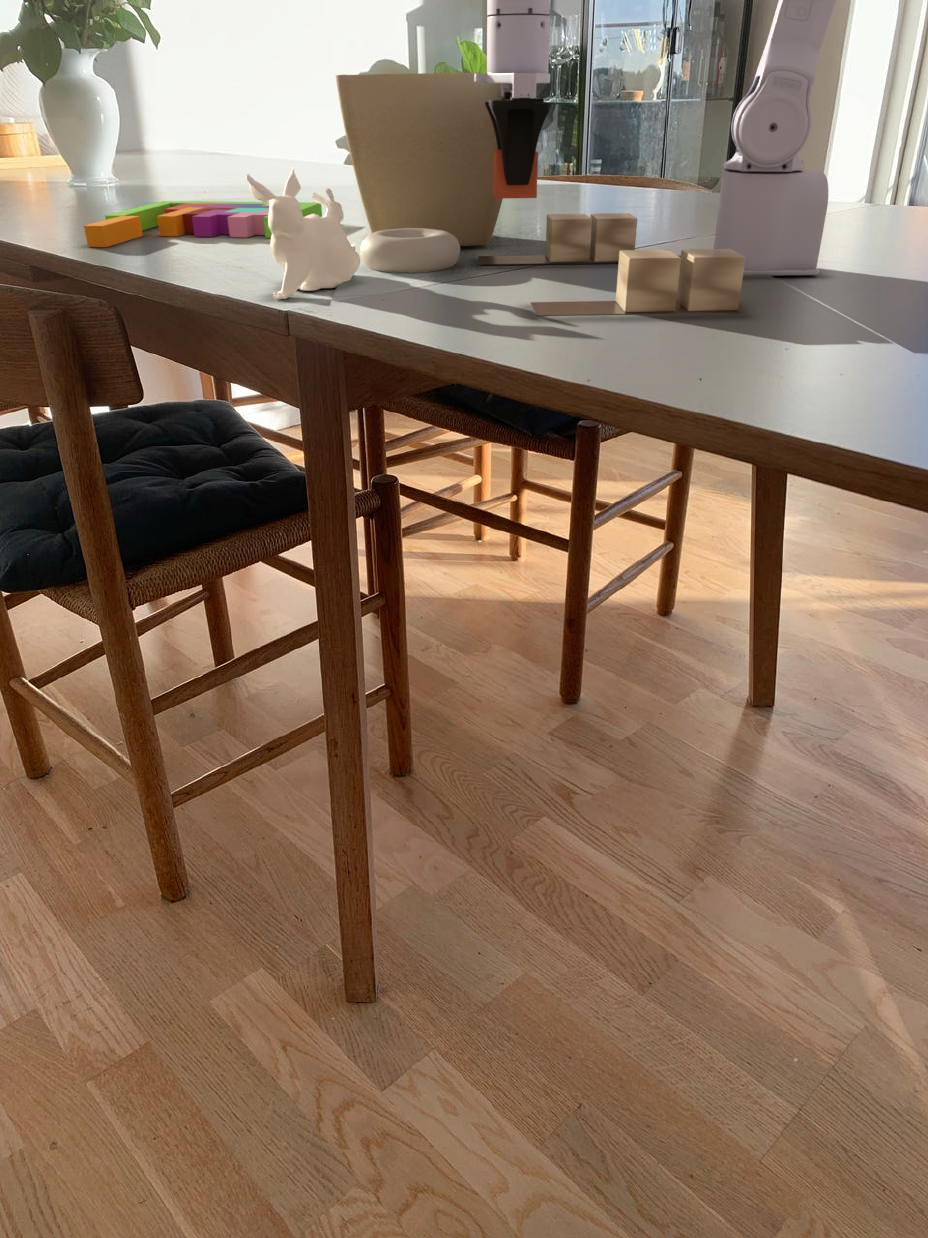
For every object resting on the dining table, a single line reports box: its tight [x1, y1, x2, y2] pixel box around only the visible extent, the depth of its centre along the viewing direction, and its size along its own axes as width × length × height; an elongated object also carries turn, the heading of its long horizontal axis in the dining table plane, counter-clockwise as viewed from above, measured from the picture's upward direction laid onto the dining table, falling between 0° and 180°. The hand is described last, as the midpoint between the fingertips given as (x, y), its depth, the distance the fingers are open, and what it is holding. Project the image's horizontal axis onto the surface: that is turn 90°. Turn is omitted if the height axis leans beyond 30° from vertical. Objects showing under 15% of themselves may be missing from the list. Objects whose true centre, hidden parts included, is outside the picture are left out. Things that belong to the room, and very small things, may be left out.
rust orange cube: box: [493, 150, 539, 199], centre depth 89 cm, size 4×4×4 cm
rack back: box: [477, 212, 638, 268], centre depth 93 cm, size 16×5×4 cm, turn 92°
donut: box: [359, 228, 461, 274], centre depth 91 cm, size 10×4×10 cm
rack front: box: [529, 248, 746, 317], centre depth 72 cm, size 16×5×4 cm, turn 92°
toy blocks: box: [83, 200, 323, 248], centre depth 114 cm, size 23×2×25 cm
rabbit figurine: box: [245, 167, 361, 300], centre depth 82 cm, size 12×8×10 cm, turn 140°
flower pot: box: [335, 72, 504, 247], centre depth 103 cm, size 19×19×17 cm
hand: (515, 182), depth 89 cm, fingers closed on rust orange cube, 4 cm apart
